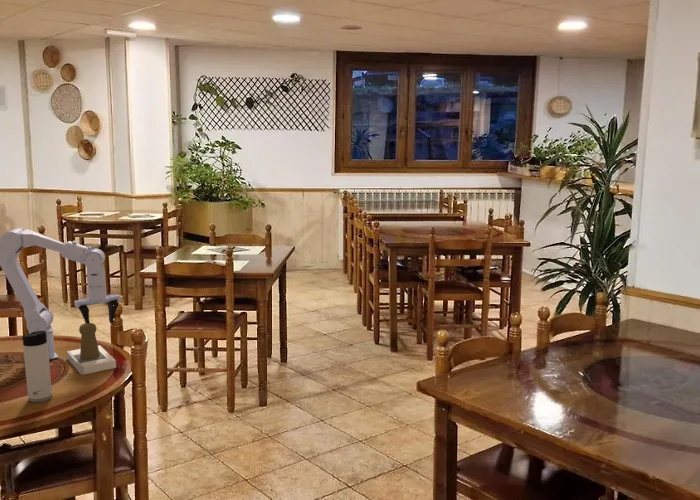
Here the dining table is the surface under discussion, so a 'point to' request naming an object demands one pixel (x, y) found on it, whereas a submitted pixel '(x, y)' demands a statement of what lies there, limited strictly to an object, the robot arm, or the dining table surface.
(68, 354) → the dock board
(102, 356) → the mat
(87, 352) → the cork
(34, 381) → the travel mug
